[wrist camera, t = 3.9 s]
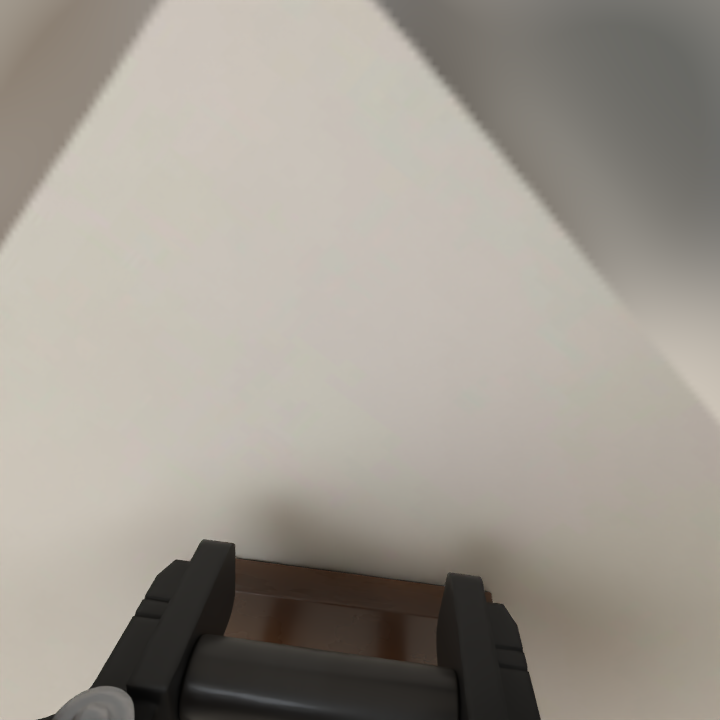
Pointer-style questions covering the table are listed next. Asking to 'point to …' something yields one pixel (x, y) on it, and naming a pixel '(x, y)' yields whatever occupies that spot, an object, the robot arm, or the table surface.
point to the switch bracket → (336, 611)
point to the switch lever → (309, 684)
